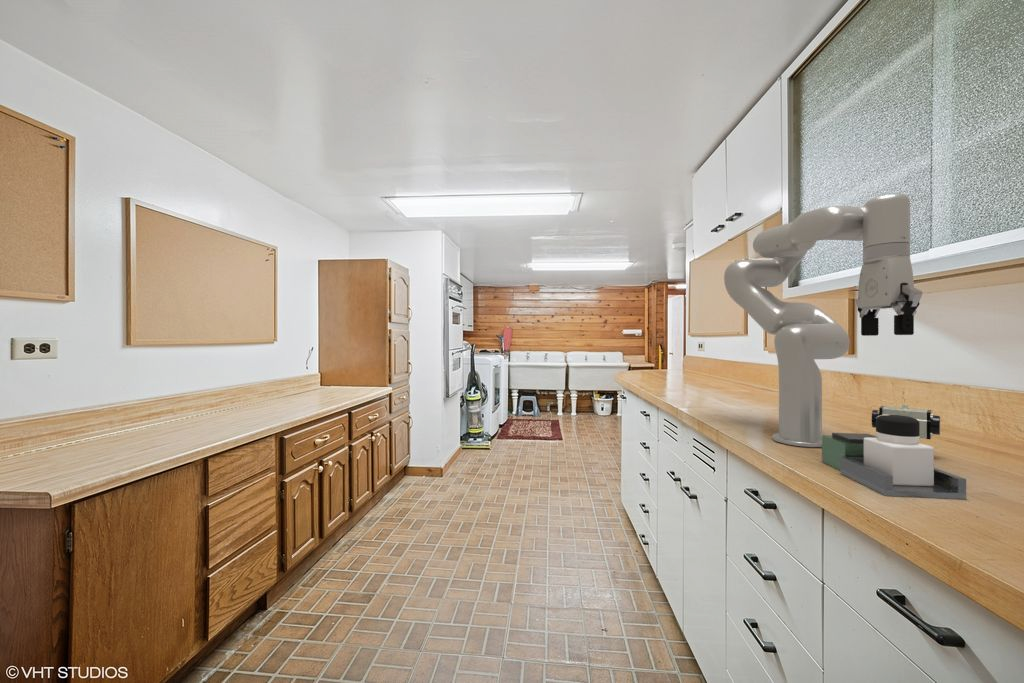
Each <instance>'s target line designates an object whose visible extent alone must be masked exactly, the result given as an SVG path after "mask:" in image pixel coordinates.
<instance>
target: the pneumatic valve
mask: <svg viewBox="0 0 1024 683" xmlns="http://www.w3.org/2000/svg"><path fill="white" fill-rule="evenodd" d="M908 406H909V404H907V403H902V404H901V406H899V407H898V406H890V405H889V406H887V405H881V406H880V407H879V408H878V409H879V410H878V409H872V412H871V427H872V428H875V429H876V417H878V416H880V415H901V416H908V417H912V418H915V419H917V420H918V421H919V422H920V439H924V440H932V436H940V435H941V416H940V415H937V414H936V415H934V414H933V413H932V409H925V408H923V409H922V408H911V407H908Z"/></svg>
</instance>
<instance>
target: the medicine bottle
mask: <svg viewBox="0 0 1024 683" xmlns="http://www.w3.org/2000/svg"><path fill="white" fill-rule="evenodd" d="M875 436H876V437H878V438H864V464H865V465H868V466H870V467H872V468H875V469H877V470H880V471H882V472H884V473H887V474H889V475H892V476H893V485H904V486H934V468H935V448H934V447H933V446H931V445H929V444H923V443H920V442H918V441H920V439H921V438H920V422H919V421H918V420H917V419H915V418H912V417H908V416H901V415H880V416H878V417H876V428H875Z"/></svg>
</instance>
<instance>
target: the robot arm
mask: <svg viewBox="0 0 1024 683" xmlns="http://www.w3.org/2000/svg"><path fill="white" fill-rule="evenodd" d="M817 241H852V242H853V241H857V242H859V241H860V242H861V241H862V265H861V269H860V272H859V277H858V288H857V298H856V300H855V303H856V304H855V305H856V307H857V309H856V310H857V311H858V313H859V318H860V321H861V322H860V334H861V336H863V337H864V336H868V337H869V336H870V337H871V336H873V337H875V336H878V335H879V317H877V316H878V314H879V312H880V310H881V309H893V310H894V312H895V313H896V314H894V315H893V334H894V335H895V336H913V335H914V333H915V327H914V324H915V323H914V321H915V315H916V314H917V309H918V307H920V301H921V298H922V296H923V291H922V290H920V289H918V288H916V287H915V281H914V274H913V272H914V271H913V267H912V266H913V265H912V261H911V200H910V198H909V196H908V195H906V194H905V193H903V194H902V193H890V194H883V195H880V196H876V197H873V198H870V199H868V200H867V201H866V202H865V203H864V204H863V206H850V205H849V206H847V205H831V206H830V205H829V206H824V207H819V208H816V209H813V210H809V211H805V212H804V213H801V214H798V216H797V217H796V218H795V219H794V220H793V221H791V222H788V223H784V224H781V225H777V226H775V227H770V228H767V229H764V230H763V231H761V232H759V233H758V234H757V235H756V236H755V237H754V239H753V242H752V249H753V250H754V252H755V253H756V254H757V255H758V256H760V257H762V258H768V259H740V260H736V261H734V262H731V263H730V264H728V265H727V267H726V268H725V271H724V274H723V276H724V277H723V280H724V286H725V289H726V292H727V294H728V295H729V297H730V298H731V299H732V300H733V301H734V302H735V303H736V304H737V305H738V306H739V307H741V309H743V310H744V312H746V313H747V314H748V315H749V316H750V317H751V318H752V320H754V322H756V324H758V325H759V326H760V328H762V330H764V331H765V333H767V334H769V335H773V336H774V340H773V341H774V342H773V344H774V350H775V353H776V359H777V366H778V368H777V369H778V423H777V427H778V432H776V433H773V434H772V438H771V439H772V440H773V441H774V442H777V443H780V444H783V445H784V444H785V445H790V446H795V447H801V448H803V447H804V448H822V435H823V389H822V388H823V377H822V372H821V370H820V368H819V366H818V364H817V362H816V360H833V359H838V358H841V357H842V356H844V355H845V354H847V352H848V350H849V348H850V345H851V344H850V341H851V340H850V337H849V335H848V333H847V331H846V330H845V328H843V326H841V325H840V324H839V323H838V322H837V321H836V320H835V319H833V318H832V317H831V316H829V315H828V314H827V313H826V312H824V311H823V310H822V309H821V308H819V307H818V306H816V305H814V304H811V303H809V302H808V303H807V302H799V301H798V302H791V301H784V300H781V299H779V298H778V297H777V296H775V295H774V294H773V293H772V292H771V291H769V290H768V289H765V288H774V287H778V286H781V284H783V283H784V282H785V281H786V280H787V279H788V277H789V276H790V275H791V274H792V273H793V271H794V270H795V269H796V267H798V265H799V263H800V262H801V261H802V260H803V259H804V257H805V256H806V254H807V252H808V251H809V250H811V249H812V248H813V247H815V245H816V243H817Z"/></svg>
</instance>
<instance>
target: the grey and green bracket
mask: <svg viewBox="0 0 1024 683" xmlns="http://www.w3.org/2000/svg"><path fill="white" fill-rule="evenodd" d="M864 438H878V436H877V435H873V434H870V433H852V432H851V433H849V432H832V433H831V435H829V434H828V435H827V434H826V435H825V434H822V447H821V462H822V463H823V462H824V463H823V464H825V463H826V465H827V464H828V466H829V465H830V466H829V467H831V466H832V468H834V469H836V470H838V471H839V474H841V475H842V476H844V477H846V478H849V479H850V478H851V479H850V480H852V481H854V480H855V481H854V482H856V481H857V483H858V482H859V483H858V484H860V483H861V485H862V484H863V486H864V485H865V486H864V487H866V486H867V487H866V488H868V487H869V488H868V489H870V488H871V491H875V492H877V493H879V494H880V495H883V496H886V497H901V496H905V497H906V498H927V499H945V498H947V499H949V500H967V478H966V477H961V476H959V475H956V474H953V473H950V472H948V471H944V470H941V469H938V468H936V467H934V486H904V485H893V476H892V475H889V474H887V473H884V472H882V471H880V470H877V469H875V468H872V467H870V466H868V465H865V464H864ZM947 499H946V500H947Z"/></svg>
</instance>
